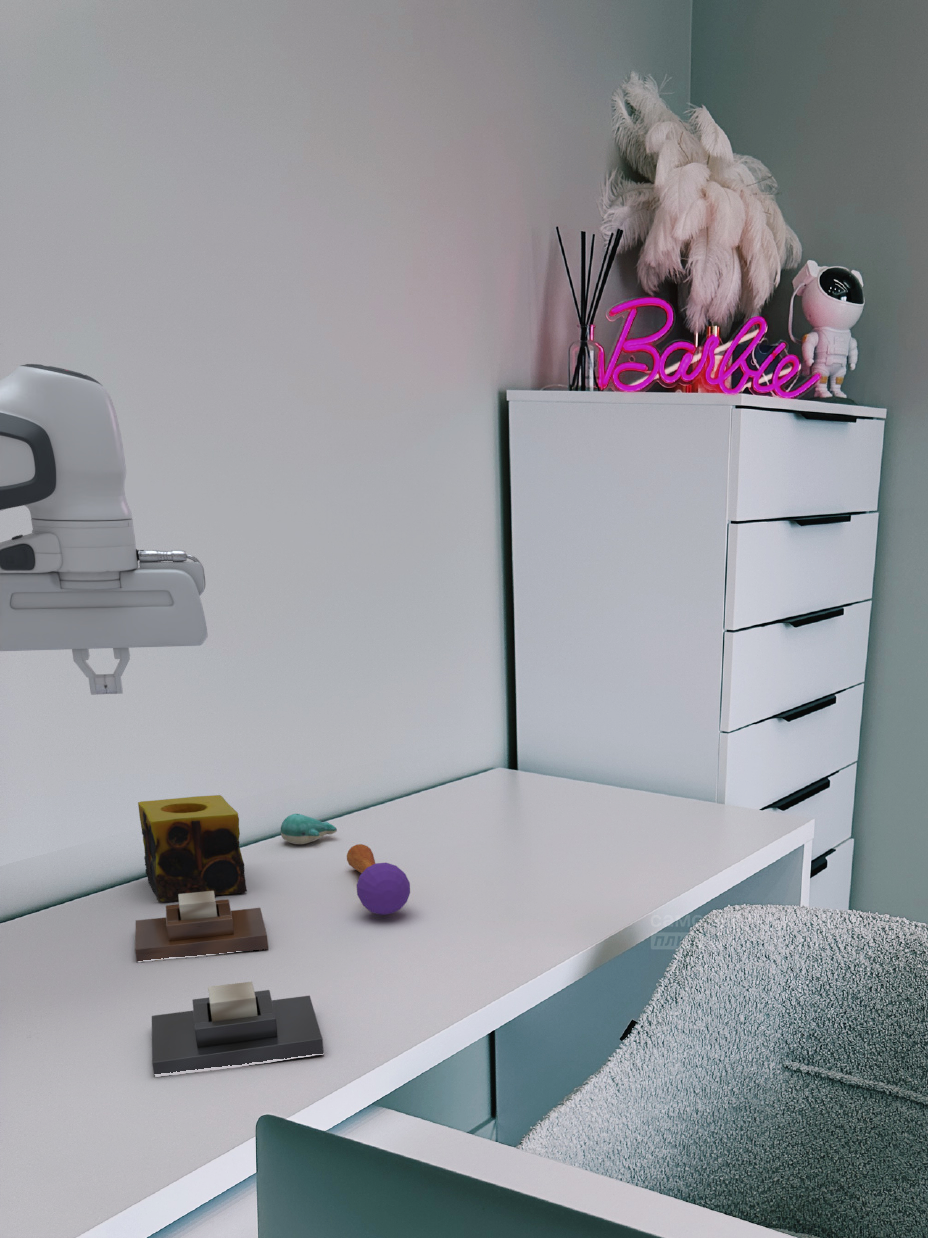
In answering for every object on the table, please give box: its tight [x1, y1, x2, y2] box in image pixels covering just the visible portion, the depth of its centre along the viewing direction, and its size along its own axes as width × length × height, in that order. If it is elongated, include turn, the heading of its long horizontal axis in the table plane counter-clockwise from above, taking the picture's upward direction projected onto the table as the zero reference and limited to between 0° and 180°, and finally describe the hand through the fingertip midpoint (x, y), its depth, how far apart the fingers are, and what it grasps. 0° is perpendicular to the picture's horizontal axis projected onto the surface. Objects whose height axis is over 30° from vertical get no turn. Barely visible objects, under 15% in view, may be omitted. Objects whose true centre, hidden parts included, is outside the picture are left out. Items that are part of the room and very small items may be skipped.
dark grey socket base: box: [151, 989, 325, 1075], centre depth 113 cm, size 14×10×4 cm
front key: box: [207, 981, 258, 1022], centre depth 112 cm, size 4×4×2 cm
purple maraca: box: [346, 843, 411, 916], centre depth 151 cm, size 6×6×20 cm
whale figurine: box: [280, 813, 338, 845], centre depth 171 cm, size 6×7×4 cm
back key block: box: [134, 898, 269, 962], centre depth 135 cm, size 13×9×4 cm
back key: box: [178, 891, 217, 920], centre depth 134 cm, size 4×4×2 cm
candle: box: [137, 794, 248, 903], centre depth 150 cm, size 10×10×10 cm
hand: (107, 693), depth 126 cm, fingers closed
